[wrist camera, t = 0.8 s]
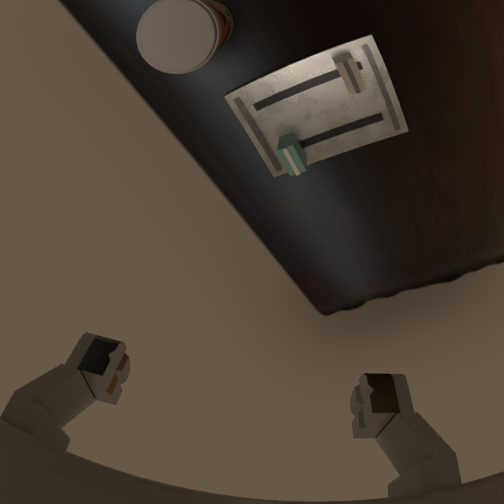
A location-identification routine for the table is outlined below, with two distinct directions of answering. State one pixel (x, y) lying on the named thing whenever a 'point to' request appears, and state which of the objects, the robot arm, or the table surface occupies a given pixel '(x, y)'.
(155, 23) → the coffee cup
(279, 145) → the fader
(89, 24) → the table surface
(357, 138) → the console
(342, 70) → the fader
